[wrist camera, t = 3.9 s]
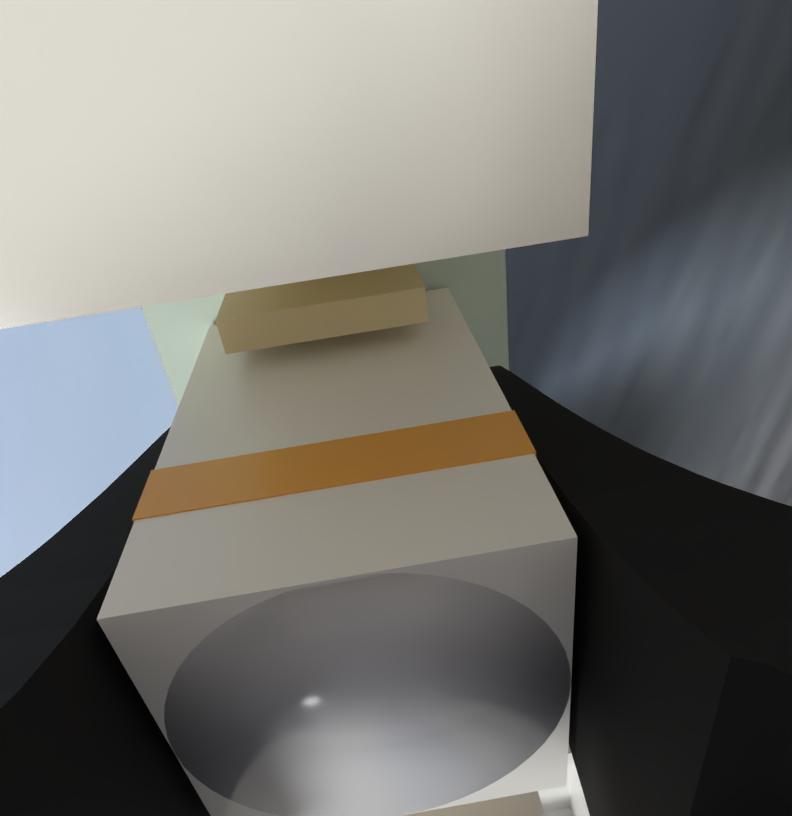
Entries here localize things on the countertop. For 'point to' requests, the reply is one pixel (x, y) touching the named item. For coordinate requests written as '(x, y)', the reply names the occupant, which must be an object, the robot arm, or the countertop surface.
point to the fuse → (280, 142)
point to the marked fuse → (351, 580)
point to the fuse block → (334, 311)
